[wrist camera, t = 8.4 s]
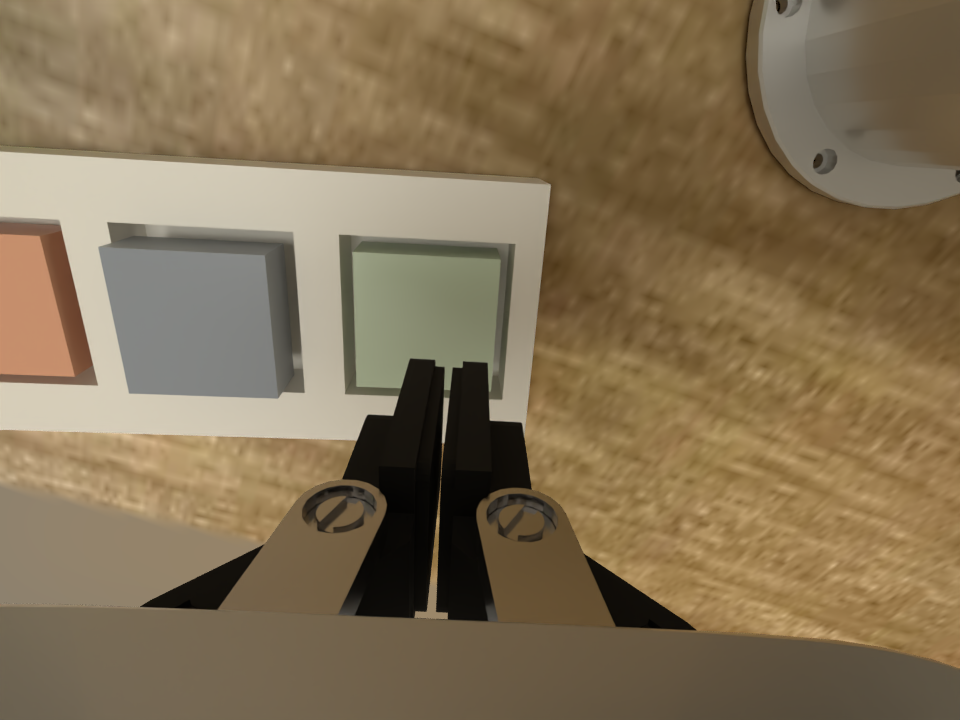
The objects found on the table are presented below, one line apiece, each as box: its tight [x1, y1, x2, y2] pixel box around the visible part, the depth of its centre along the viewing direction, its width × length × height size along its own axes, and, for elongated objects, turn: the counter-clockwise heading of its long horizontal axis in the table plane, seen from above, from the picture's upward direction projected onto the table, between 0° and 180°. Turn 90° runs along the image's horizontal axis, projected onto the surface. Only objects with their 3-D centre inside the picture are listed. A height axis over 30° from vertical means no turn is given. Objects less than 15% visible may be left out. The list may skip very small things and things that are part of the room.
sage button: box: [352, 241, 501, 392], centre depth 20 cm, size 5×5×2 cm
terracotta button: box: [0, 222, 93, 377], centre depth 19 cm, size 5×5×2 cm
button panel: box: [0, 145, 551, 443], centre depth 20 cm, size 23×10×3 cm, turn 86°
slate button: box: [98, 236, 294, 399], centre depth 19 cm, size 5×5×2 cm
